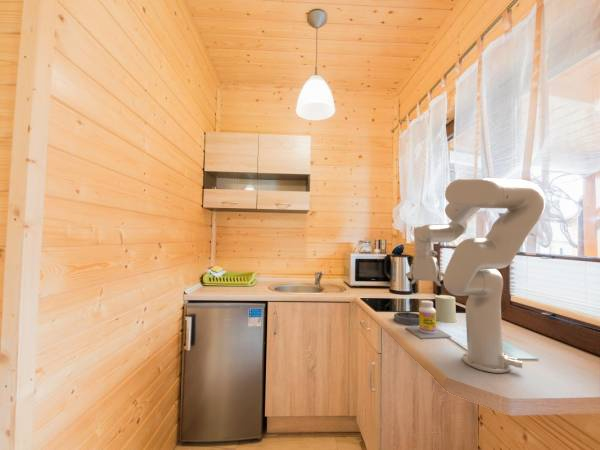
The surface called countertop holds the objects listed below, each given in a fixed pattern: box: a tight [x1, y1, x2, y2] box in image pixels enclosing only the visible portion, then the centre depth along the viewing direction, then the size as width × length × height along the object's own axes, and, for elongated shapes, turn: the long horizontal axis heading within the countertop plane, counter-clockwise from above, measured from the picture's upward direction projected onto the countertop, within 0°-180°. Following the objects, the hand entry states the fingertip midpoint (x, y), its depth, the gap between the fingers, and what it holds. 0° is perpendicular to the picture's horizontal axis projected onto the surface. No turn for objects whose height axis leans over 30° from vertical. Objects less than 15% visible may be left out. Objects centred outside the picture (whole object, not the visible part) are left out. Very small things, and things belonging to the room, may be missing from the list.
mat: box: [405, 326, 452, 340], centre depth 113 cm, size 13×13×1 cm
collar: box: [393, 311, 419, 327], centre depth 129 cm, size 12×12×3 cm
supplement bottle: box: [418, 300, 437, 334], centre depth 113 cm, size 7×7×13 cm
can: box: [434, 294, 457, 324], centre depth 132 cm, size 9×9×12 cm
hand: (427, 294), depth 113 cm, fingers open, 9 cm apart
